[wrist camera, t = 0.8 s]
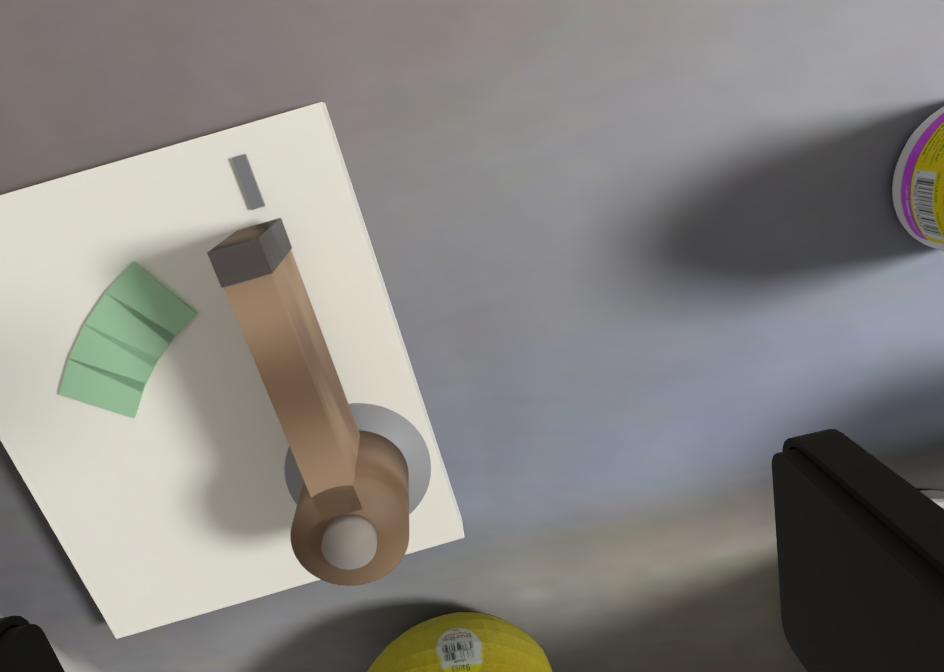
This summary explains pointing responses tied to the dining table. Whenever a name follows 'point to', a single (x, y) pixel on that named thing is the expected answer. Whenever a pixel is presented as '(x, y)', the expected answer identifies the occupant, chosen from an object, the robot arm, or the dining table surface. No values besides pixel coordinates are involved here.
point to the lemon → (463, 647)
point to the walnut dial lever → (315, 417)
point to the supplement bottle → (922, 183)
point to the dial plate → (190, 367)
